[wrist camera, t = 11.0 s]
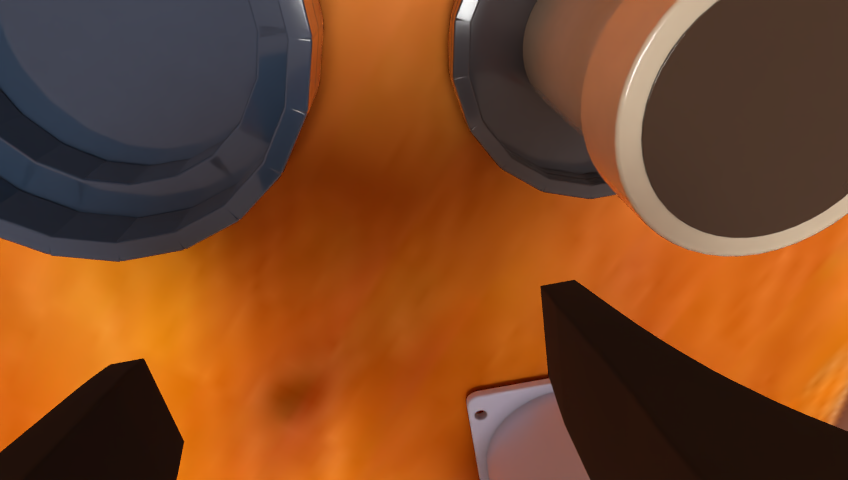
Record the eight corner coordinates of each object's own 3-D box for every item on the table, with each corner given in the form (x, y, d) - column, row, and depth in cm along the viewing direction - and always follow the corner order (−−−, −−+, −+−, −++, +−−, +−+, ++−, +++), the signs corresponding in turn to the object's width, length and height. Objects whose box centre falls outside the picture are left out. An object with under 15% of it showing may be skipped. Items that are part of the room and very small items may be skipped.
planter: (359, 171, 20) (356, 219, 16) (26, 232, 20) (-51, 293, 16) (261, -260, 15) (224, -327, 11) (-189, -174, 15) (-369, -214, 11)
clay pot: (684, 114, 19) (904, 230, 11) (518, 144, 19) (619, 282, 11) (691, -76, 17) (980, -99, 9) (500, -40, 17) (613, -32, 9)
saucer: (732, 155, 21) (757, 169, 19) (466, 203, 21) (473, 221, 19) (756, -162, 16) (790, -172, 15) (422, -99, 16) (427, -104, 15)
